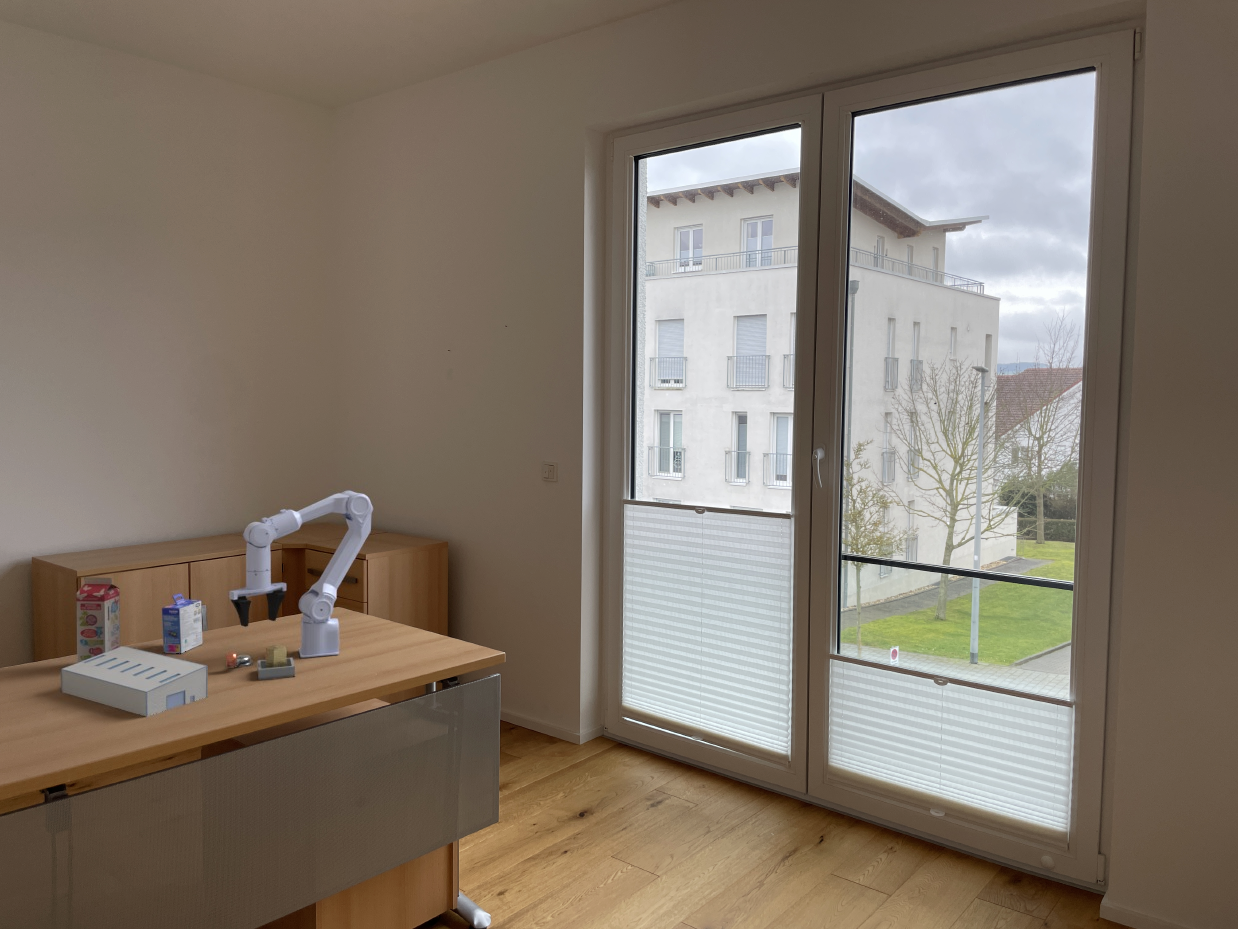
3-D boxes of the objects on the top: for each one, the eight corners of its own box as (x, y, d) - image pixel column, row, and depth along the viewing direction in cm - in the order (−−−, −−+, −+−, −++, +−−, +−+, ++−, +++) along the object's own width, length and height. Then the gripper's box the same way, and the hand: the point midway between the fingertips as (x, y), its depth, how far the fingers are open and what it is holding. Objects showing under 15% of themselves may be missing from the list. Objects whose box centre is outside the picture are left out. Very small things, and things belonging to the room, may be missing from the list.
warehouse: (61, 694, 193) (60, 660, 193) (123, 677, 206) (123, 645, 206) (146, 718, 180) (146, 683, 179) (207, 699, 192) (207, 665, 192)
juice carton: (93, 661, 216) (91, 574, 215) (120, 662, 216) (119, 575, 215) (77, 669, 209) (76, 580, 208) (105, 670, 210) (104, 580, 208)
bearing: (252, 660, 220) (252, 658, 220) (253, 666, 216) (253, 664, 216) (230, 662, 218) (230, 660, 218) (230, 668, 214) (230, 666, 214)
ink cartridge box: (184, 643, 235) (183, 590, 234) (203, 644, 234) (203, 591, 233) (161, 653, 225) (160, 598, 224) (181, 654, 224) (181, 599, 223)
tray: (292, 667, 215) (292, 657, 215) (294, 676, 208) (294, 666, 208) (257, 670, 212) (257, 660, 212) (258, 680, 205) (258, 669, 205)
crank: (236, 658, 219) (236, 644, 219) (252, 658, 219) (252, 644, 219) (221, 669, 210) (221, 654, 210) (237, 669, 210) (237, 655, 210)
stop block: (278, 668, 213) (278, 644, 212) (286, 671, 211) (286, 647, 210) (265, 671, 210) (265, 647, 209) (273, 674, 208) (273, 650, 207)
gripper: (275, 564, 226) (275, 615, 227) (222, 571, 215) (222, 625, 215) (291, 567, 222) (291, 619, 223) (238, 575, 210) (238, 630, 211)
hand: (258, 623), depth 219 cm, fingers open, 7 cm apart
